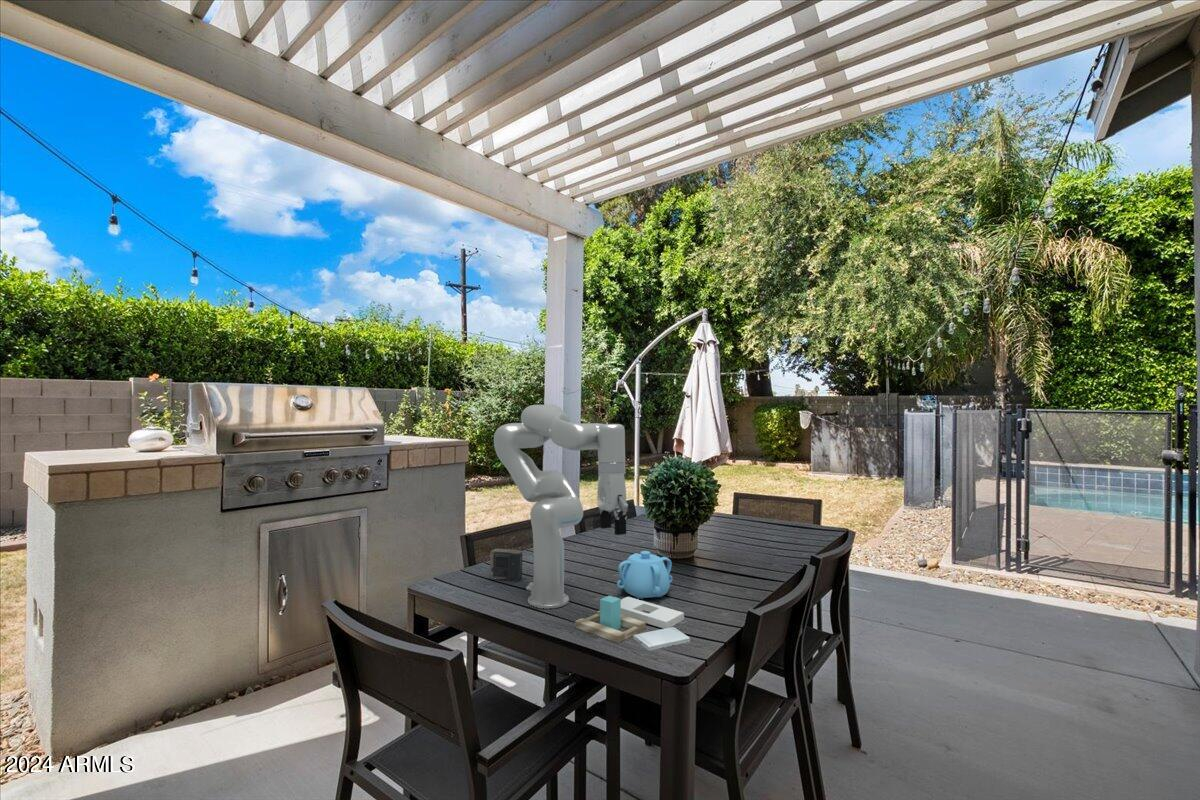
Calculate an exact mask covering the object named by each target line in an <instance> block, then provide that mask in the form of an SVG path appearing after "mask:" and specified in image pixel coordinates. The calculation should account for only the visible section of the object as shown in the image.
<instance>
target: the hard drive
mask: <svg viewBox="0 0 1200 800" xmlns="http://www.w3.org/2000/svg"><path fill="white" fill-rule="evenodd" d="M632 639H633V640H635V642H637V643H638V644H639V645H641V646H642V647H643V648H644V649H646V650H647V652H648V651H654V650H658V649H663V647H664V648H668V646H669V647H672V645H674V646H677V645H683V644H687V642H688V643H690V642H691V638H690V636H688V635H686V634H685V633H684V632H682V631H680V630H679V629H677V628H676V627H674V626H672V627H670V628H665V629H663V628H660V629H655V630H652V631H647V632H639V633H637V634H635V635H633V636H632ZM682 643H683V644H682Z"/></svg>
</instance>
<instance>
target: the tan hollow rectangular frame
mask: <svg viewBox="0 0 1200 800" xmlns="http://www.w3.org/2000/svg"><path fill="white" fill-rule="evenodd" d="M597 621H600V609H599V610H596V613H594V614H593V615H590V616H589V617H587V618H583V617H581V618H578V619H577V620H574V628H575V627H576V629H577V628H579V629H578V630H580V629H581V631H583V632H586V633H589V634H592V635H594V636H597V637H599V638H603V639H604V640H605V639H606V640H608V641H610V642H614V643H616V644H619V643H621V642H623V641H625V640H627V639H629V638H631V637H633V635H636V634H640V633H642V631H645V630H646V624H647V623H646V622H643V621H640V620H637V619H634V618H630V617H627V616H624V615H621V627H623V628H625V629H627V630H625V631H621V630H619V629H618V630H615V629H612V628H609V627H607V626H604V625H601V624H600V623H599V622H597Z"/></svg>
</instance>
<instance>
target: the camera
mask: <svg viewBox="0 0 1200 800" xmlns="http://www.w3.org/2000/svg"><path fill="white" fill-rule="evenodd" d="M489 553H490V554H489V555H490V556H489V558H490V559H489V573H488V574H489V578H490V579H491V578H496V579H495V580H500V579H508V580H507V581H512V580H517V581H516V582H520V581H521V580H523V552H522V550H519V549H518V550H516V549H509V548H507V549H506V548H494V549H492V550H491V551H490V552H489ZM520 579H521V580H520Z"/></svg>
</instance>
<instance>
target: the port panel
mask: <svg viewBox="0 0 1200 800" xmlns="http://www.w3.org/2000/svg"><path fill="white" fill-rule="evenodd" d="M620 599H621V598H620ZM644 611H645V612H644ZM621 615H624V616H627V617H630V618H634V619H637V620H640V621H643V622H646V624H649V625H651V626H653V627H654V626H655V627H658V628H660V629H665V628H670V627H674V626H675V625H677V624H679V623H681V622H683V621H684V620H685V613H684V612H683V611H681V610H680V611H678V610H676V609H672V608H668V607H666V606H662V605H658V604H655V603H652V602H649V601H645V600H643V599H642V600H639V599H636V597H631V596H626V597H624V598H622V599H621Z"/></svg>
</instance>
